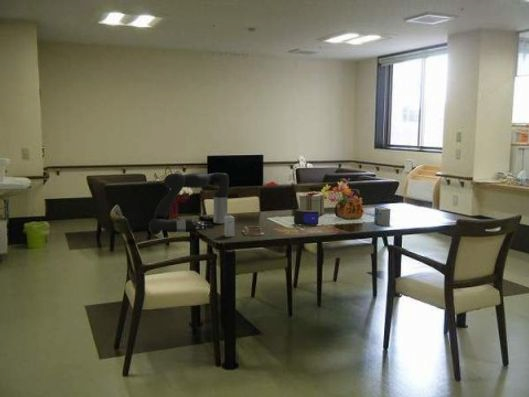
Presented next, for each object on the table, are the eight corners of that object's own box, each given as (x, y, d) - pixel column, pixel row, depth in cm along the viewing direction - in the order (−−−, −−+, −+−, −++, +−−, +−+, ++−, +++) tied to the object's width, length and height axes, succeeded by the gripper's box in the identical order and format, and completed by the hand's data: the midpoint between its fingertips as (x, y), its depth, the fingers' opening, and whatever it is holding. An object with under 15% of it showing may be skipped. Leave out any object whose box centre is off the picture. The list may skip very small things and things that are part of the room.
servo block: (224, 234, 313) (224, 215, 312) (232, 234, 315) (232, 215, 313) (225, 236, 309) (225, 216, 307) (234, 236, 310) (234, 216, 308)
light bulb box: (373, 222, 363) (374, 206, 362) (382, 222, 365) (383, 206, 363) (381, 225, 353) (381, 209, 351) (390, 224, 354) (390, 208, 353)
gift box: (300, 212, 404) (301, 189, 402) (324, 213, 398) (325, 191, 396) (294, 215, 388) (295, 192, 386) (319, 217, 382) (319, 193, 380)
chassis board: (242, 231, 324) (242, 225, 323) (259, 231, 326) (259, 224, 326) (246, 235, 311) (246, 229, 311) (264, 235, 314) (264, 228, 313)
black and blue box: (293, 224, 350) (293, 210, 348) (294, 223, 354) (294, 209, 353) (317, 225, 347) (318, 211, 346) (318, 224, 352) (318, 210, 350)
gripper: (185, 221, 298) (214, 220, 301) (183, 217, 311) (211, 216, 315) (185, 234, 299) (214, 233, 302) (183, 230, 312) (211, 229, 316)
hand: (212, 225), depth 309 cm, fingers open, 8 cm apart
